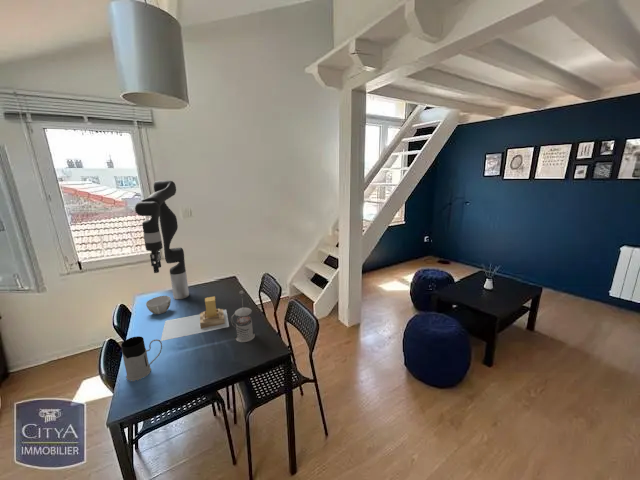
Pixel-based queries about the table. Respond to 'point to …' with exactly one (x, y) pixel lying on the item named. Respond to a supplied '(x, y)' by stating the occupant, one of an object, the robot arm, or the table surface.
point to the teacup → (159, 304)
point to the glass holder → (136, 358)
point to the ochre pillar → (210, 306)
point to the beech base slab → (211, 319)
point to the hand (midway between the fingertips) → (157, 269)
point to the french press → (245, 331)
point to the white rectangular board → (188, 326)
